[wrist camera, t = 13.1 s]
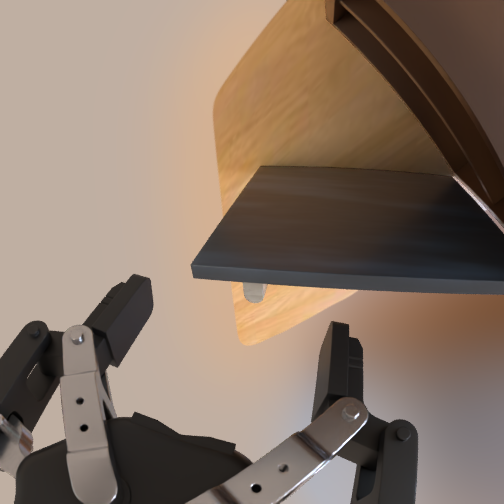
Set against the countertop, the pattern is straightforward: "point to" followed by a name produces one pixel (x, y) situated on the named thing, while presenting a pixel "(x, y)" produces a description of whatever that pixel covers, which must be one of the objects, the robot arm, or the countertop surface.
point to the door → (354, 234)
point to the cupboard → (441, 76)
